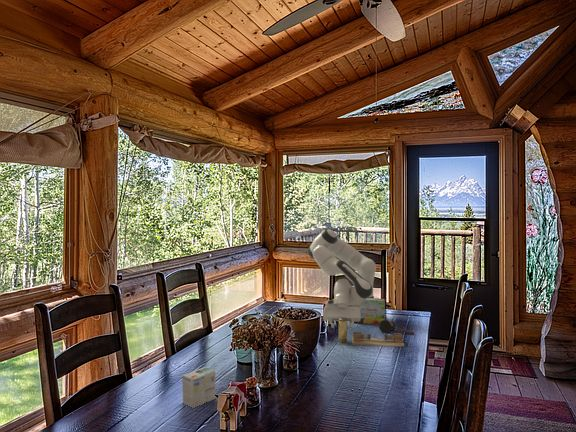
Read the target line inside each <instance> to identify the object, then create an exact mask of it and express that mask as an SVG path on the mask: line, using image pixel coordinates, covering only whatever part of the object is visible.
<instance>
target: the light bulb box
mask: <svg viewBox="0 0 576 432" xmlns="http://www.w3.org/2000/svg"><path fill="white" fill-rule="evenodd" d="M181 378H182V383H181V384H182V404H183V403H184V404H183V405H185V404H186V405H185V406H187V405H188V406H187V407H189V406H190V407H189V408H191V407H192V409H193V408H194V409H196V408H198V407H200V406H202V405H205V404H207V403H209V402H211V401H214V400H215V399H217V398H216V396H215V395H217V393H216V392H217V391H216V370H215V369H211V368H208V367H206V366H202V367H200V368H198V369H196V370H193V371H190V372H187V373H185V374H182V375H181ZM206 402H207V403H206ZM204 403H205V404H204ZM199 405H200V406H199ZM197 406H198V407H197ZM195 407H196V408H195Z"/></svg>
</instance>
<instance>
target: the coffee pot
mask: <svg viewBox="0 0 576 432" xmlns="http://www.w3.org/2000/svg"><path fill="white" fill-rule="evenodd" d="M378 327H379V330H380V331H381V333H383V334H389V333H390V332H392V331H395V330H398V331H402V332H403V333H405V334H408V335H411V336H414V335H415V332H414V331H412V330H409V329H405V328H401V327H397V325H396V322H394V321H390V320H388V319H385V320H382V321H381V322H380V324H379V325H378Z"/></svg>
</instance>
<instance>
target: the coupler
mask: <svg viewBox="0 0 576 432" xmlns="http://www.w3.org/2000/svg"><path fill="white" fill-rule="evenodd" d="M338 320H339V321H338V343H340V344H346V343H348V321H347V318H338Z"/></svg>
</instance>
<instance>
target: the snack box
mask: <svg viewBox="0 0 576 432" xmlns="http://www.w3.org/2000/svg"><path fill="white" fill-rule="evenodd" d="M359 306H360V307H361V312H360V315H361V320H360V321H359V322H357V323H356V324H366V323H367V325H378V326H379V324H380V322H381V321H382V320H386V310H385V309H386V299H385V298H375V297H374V298H366V299H365V301H364V302H362V304H361V305H359ZM348 322H349V323H351V321H348ZM354 322H355V321H354Z"/></svg>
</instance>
